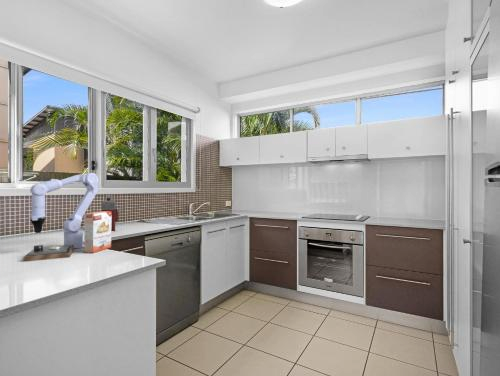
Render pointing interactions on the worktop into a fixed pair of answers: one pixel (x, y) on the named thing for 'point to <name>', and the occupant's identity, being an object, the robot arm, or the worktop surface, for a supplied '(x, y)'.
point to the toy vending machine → (111, 207)
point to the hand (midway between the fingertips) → (38, 232)
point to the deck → (49, 249)
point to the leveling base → (49, 255)
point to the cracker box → (97, 231)
